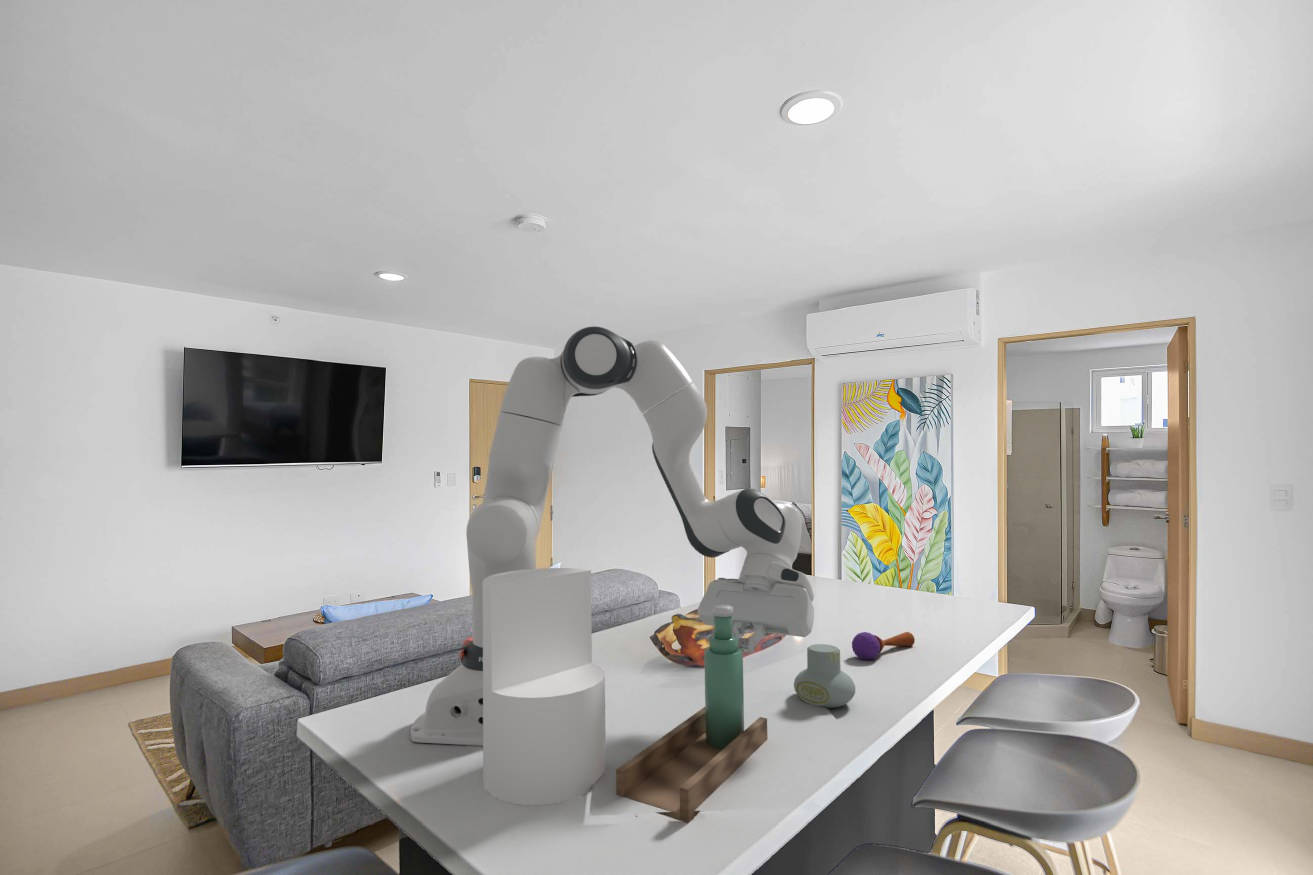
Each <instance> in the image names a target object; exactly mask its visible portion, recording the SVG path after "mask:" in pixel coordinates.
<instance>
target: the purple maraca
mask: <svg viewBox="0 0 1313 875" xmlns="http://www.w3.org/2000/svg"><path fill="white" fill-rule="evenodd" d="M915 640H916V639H915V636H914V635H913V633H911V632H910V631H905V632H903V633H900V634H896V635H895V636H891V637H888V638H886V639H882V638H881V637H879V636H878V635H875V634H872V633H871V632H867V631H862V632H859V633H857V634H856V635H855V636H854V637H853V639H852V641H851V648H852V652H853V653H854V655H855V656H856V657H858V658H860V659H861V660H865V661H869V660H874V659H875V658H876V657H877V656H878V655H879V654H881V652H882V651H883V649H884V647H885V646H886V647H887V646H888V647H895V646H896V647H912V646H913V645H914V644H915Z"/></svg>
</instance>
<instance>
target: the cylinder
mask: <svg viewBox="0 0 1313 875" xmlns="http://www.w3.org/2000/svg"><path fill="white" fill-rule="evenodd" d="M592 632H593V630H592V570H591V569H583V568H574V567H572V568H569V567H565V568H564V567H563V568H562V567H551V568H550V567H549V568H548V567H546V568H545V567H544V568H543V567H542V568H536V569H527V570H518V571H510V572H504V573H499V574H495V575H491V576H489V577H487V578H485V579H484V580H483V746H482V747H483V749H482V753H483V754H482V755H483V756H482V759H483V760H482V764H483V767H482V769H483V771H482V775H483V776H482V777H483V778H482V780H483V781H482V782H483V786H484V791H486V792H487V793H488V794H489V795H490V796H491V797H493V798H495V799H497V800H499V801H501V802H504V803H509V804H513V805H522V806H544V805H547V806H548V805H553V804H554V805H556V804H559V803H564V802H569V801H572V800H573V799H574V800H575V799H576V798H580V797H583V796H584V795H586V794H587V793H589V792H591V791H592V790H593V786H594V785H593V784H595V783H596V782H597V781H598V780H600V778H602V776H603V775H604V772H605V771H606V768H607V761H606V760H607V759H606V756H607V754H606V750H607V749H606V748H607V747H606V674H605V670H604V669H603V668H602V667H601V666H599V665H597V664H594V663H593V660H592V658H593V657H592V656H593V653H592V652H593V648H592V647H593V644H592V643H593V642H592V641H593V640H592V639H593V638H592V635H593V634H592Z"/></svg>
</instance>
